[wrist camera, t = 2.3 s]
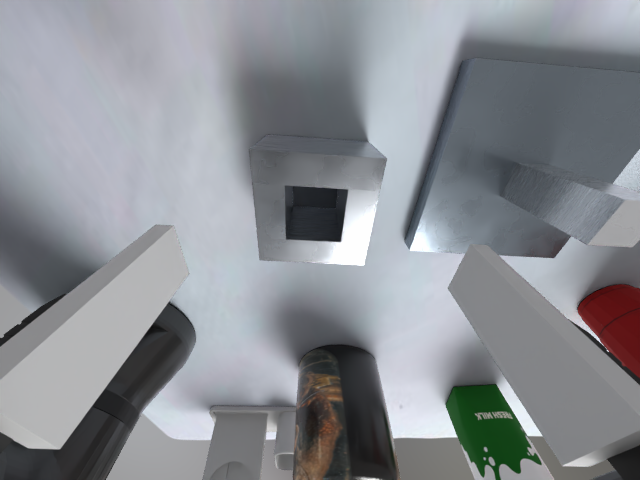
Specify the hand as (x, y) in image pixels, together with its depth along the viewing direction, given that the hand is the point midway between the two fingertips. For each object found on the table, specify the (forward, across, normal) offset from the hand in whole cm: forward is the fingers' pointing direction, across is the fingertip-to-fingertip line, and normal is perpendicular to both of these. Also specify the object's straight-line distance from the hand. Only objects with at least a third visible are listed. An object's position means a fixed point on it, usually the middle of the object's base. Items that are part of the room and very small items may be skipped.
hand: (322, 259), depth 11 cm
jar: (+10, +4, -28) cm, 30 cm away
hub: (+10, -1, 0) cm, 10 cm away
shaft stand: (+10, +15, +2) cm, 19 cm away
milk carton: (+11, +28, -36) cm, 47 cm away
